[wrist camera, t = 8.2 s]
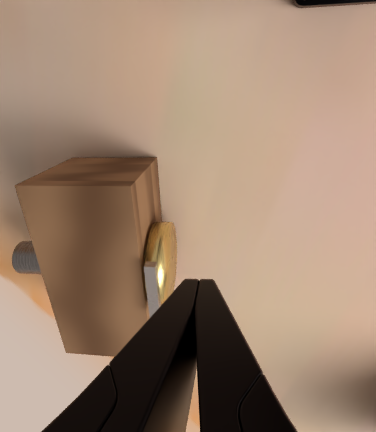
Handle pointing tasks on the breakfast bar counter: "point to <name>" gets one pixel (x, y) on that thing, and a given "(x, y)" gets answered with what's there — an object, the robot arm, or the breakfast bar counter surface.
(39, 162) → the breakfast bar counter surface
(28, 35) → the breakfast bar counter surface
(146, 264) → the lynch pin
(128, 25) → the breakfast bar counter surface
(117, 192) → the block
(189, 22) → the breakfast bar counter surface
